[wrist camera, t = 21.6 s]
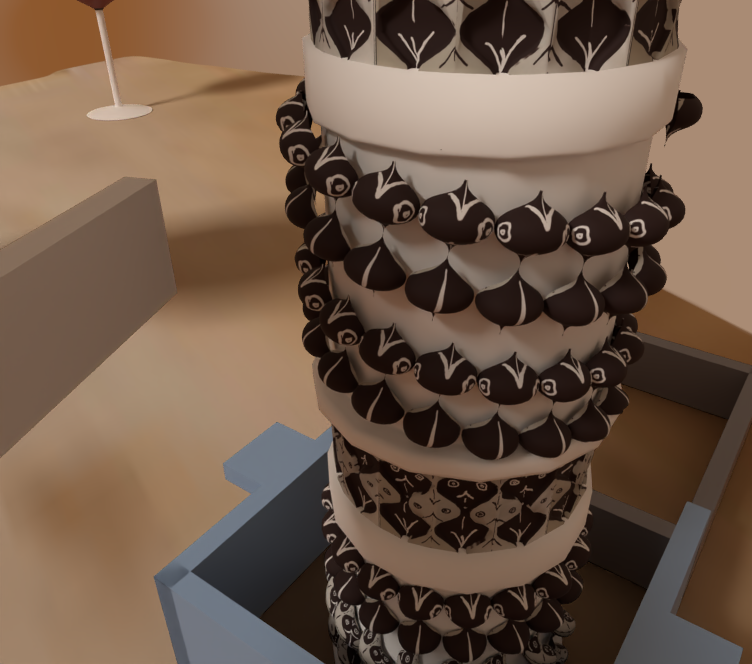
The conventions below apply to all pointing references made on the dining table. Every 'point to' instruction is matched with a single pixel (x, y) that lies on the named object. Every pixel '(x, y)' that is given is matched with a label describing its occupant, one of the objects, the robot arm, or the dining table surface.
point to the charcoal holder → (742, 407)
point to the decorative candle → (474, 300)
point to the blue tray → (306, 542)
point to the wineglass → (112, 76)
